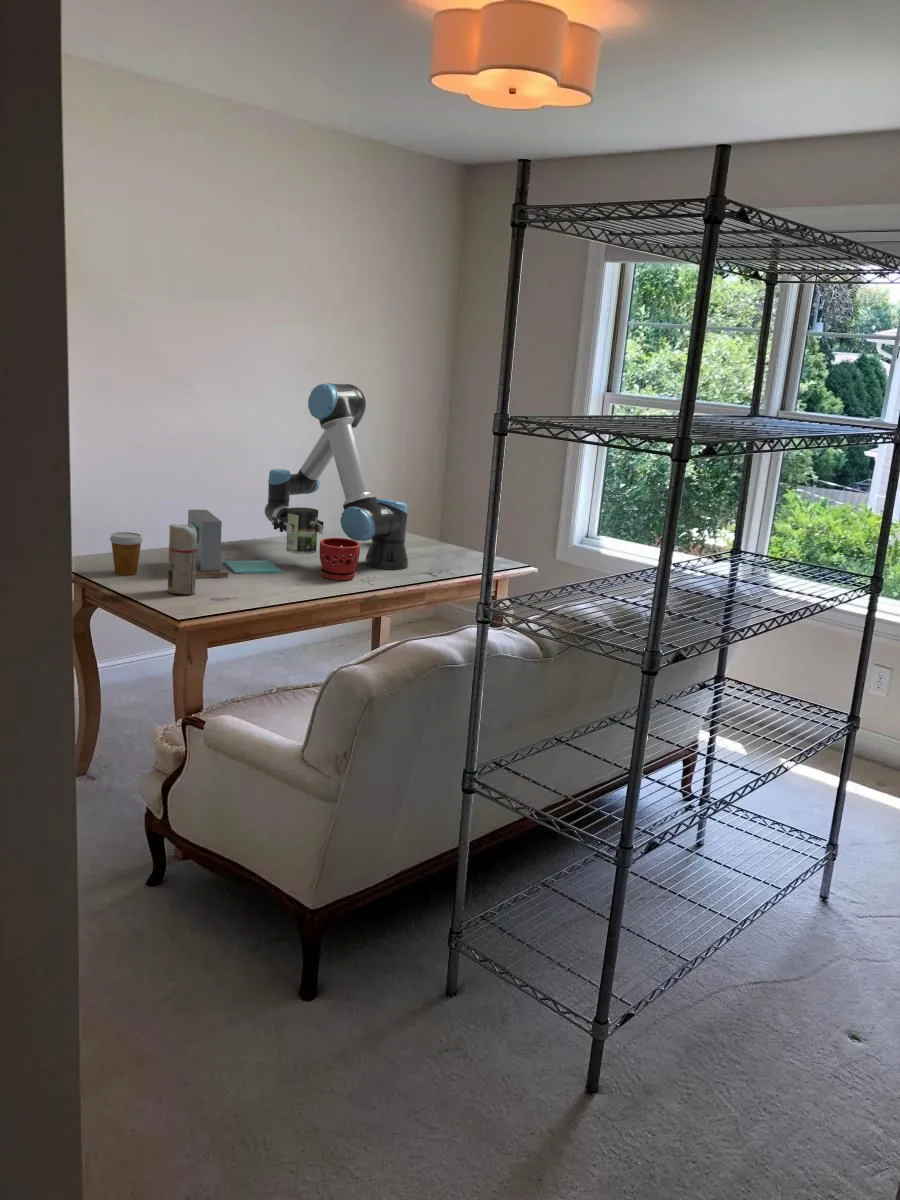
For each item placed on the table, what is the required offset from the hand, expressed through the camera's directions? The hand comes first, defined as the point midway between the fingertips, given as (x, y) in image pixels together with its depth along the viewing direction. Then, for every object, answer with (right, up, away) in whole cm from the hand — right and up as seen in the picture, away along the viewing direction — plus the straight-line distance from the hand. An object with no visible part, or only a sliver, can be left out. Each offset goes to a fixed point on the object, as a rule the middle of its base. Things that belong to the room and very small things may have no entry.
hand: (306, 529), depth 327 cm
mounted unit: (-32, -13, -10) cm, 36 cm away
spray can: (-31, -21, -40) cm, 55 cm away
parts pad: (-17, -13, -3) cm, 22 cm away
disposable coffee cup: (-52, -15, -24) cm, 59 cm away
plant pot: (+11, -16, -4) cm, 20 cm away
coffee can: (-2, -7, +6) cm, 9 cm away
